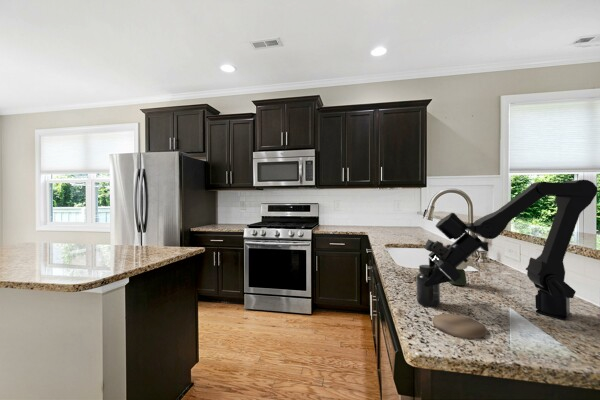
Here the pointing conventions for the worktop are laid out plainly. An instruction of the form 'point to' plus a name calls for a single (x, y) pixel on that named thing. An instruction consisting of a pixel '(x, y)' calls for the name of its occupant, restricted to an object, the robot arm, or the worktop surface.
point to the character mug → (463, 272)
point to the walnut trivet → (459, 326)
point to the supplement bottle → (427, 294)
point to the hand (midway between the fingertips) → (423, 282)
